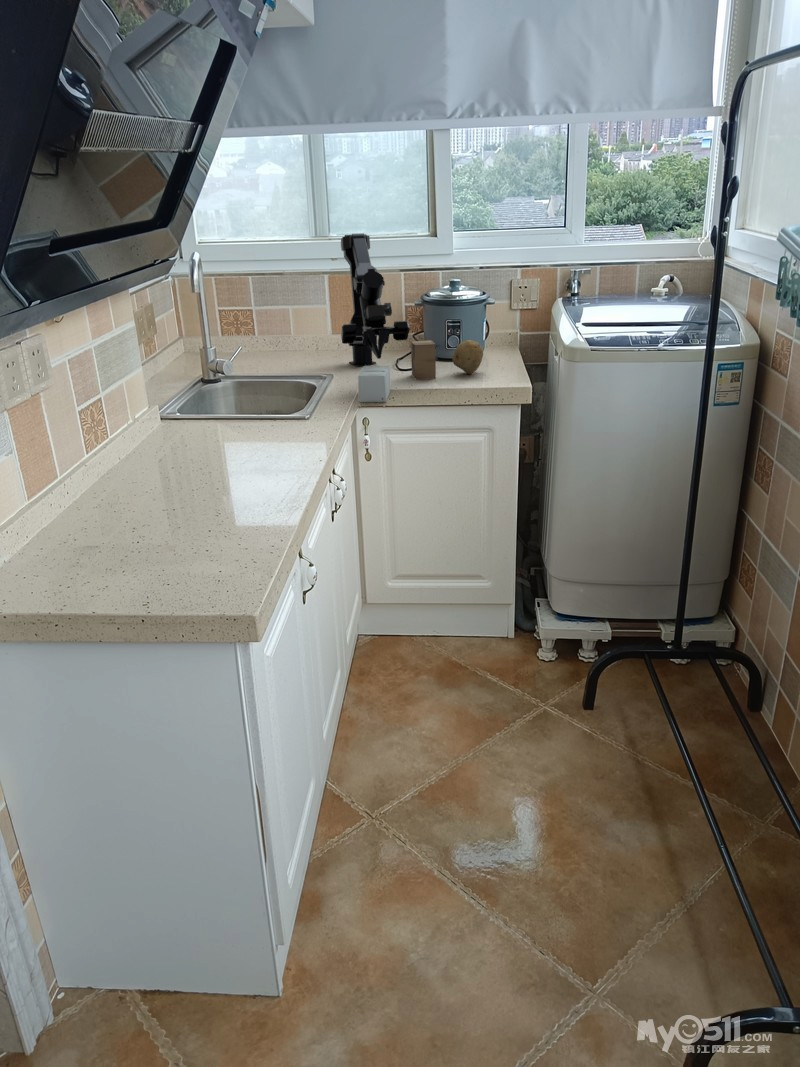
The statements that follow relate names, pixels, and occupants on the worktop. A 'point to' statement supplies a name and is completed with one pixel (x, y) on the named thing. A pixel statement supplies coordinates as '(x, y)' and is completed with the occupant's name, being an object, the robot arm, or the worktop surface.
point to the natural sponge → (468, 356)
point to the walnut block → (423, 359)
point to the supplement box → (374, 384)
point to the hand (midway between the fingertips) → (379, 357)
